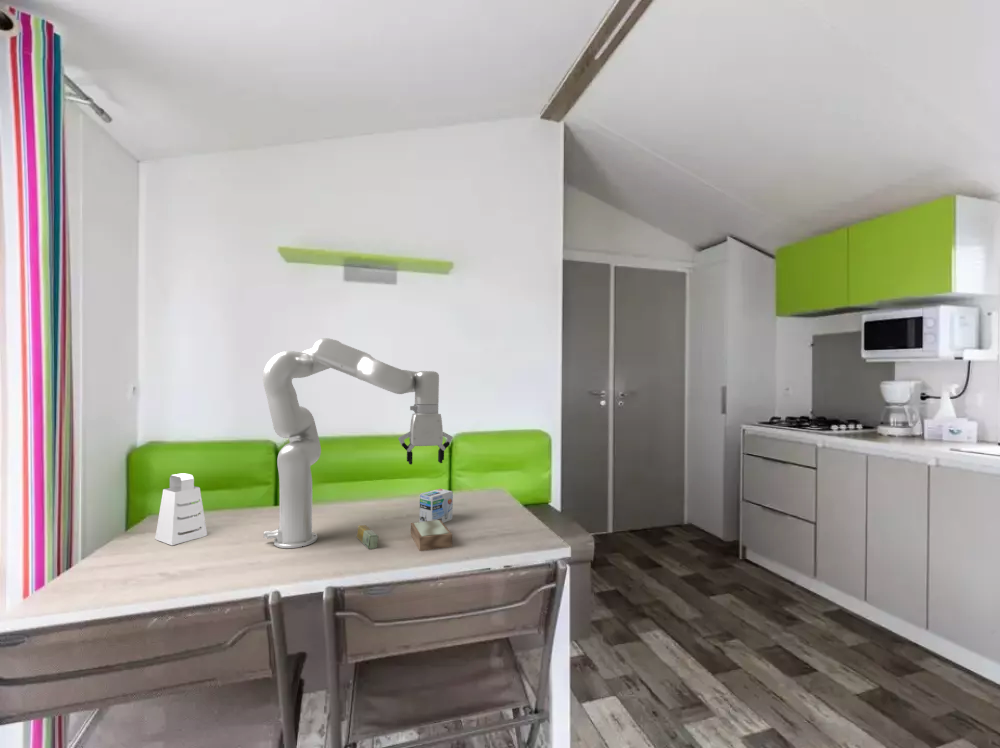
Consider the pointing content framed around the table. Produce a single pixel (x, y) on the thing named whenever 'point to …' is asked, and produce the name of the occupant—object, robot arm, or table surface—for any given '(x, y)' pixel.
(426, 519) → the light bulb box
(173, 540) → the grater
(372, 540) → the medication box
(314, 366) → the robot arm
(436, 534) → the mirror with brown frame
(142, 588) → the table surface
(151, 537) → the table surface
